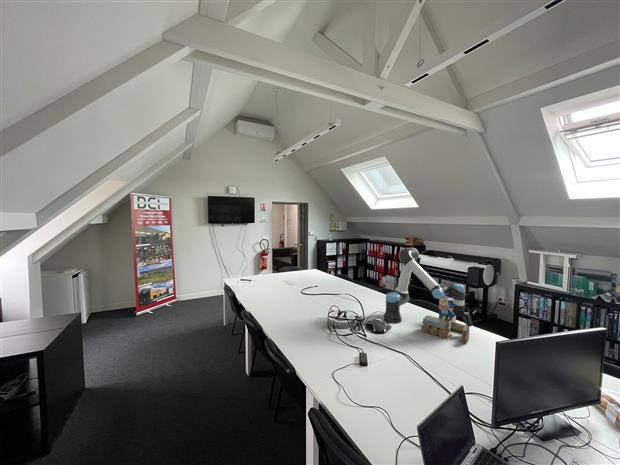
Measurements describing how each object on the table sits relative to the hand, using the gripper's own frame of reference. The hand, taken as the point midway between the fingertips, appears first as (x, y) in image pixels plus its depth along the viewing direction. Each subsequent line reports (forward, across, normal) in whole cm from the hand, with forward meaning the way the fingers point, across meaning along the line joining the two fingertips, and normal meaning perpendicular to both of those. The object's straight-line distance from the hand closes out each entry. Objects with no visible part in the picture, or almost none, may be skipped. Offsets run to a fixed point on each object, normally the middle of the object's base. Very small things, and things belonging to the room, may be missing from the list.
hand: (457, 332), depth 196 cm
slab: (-6, -13, -12) cm, 19 cm away
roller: (-2, 0, +1) cm, 2 cm away
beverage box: (+1, -11, +14) cm, 18 cm away
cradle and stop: (+1, +1, -12) cm, 12 cm away
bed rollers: (+1, -13, -12) cm, 18 cm away
